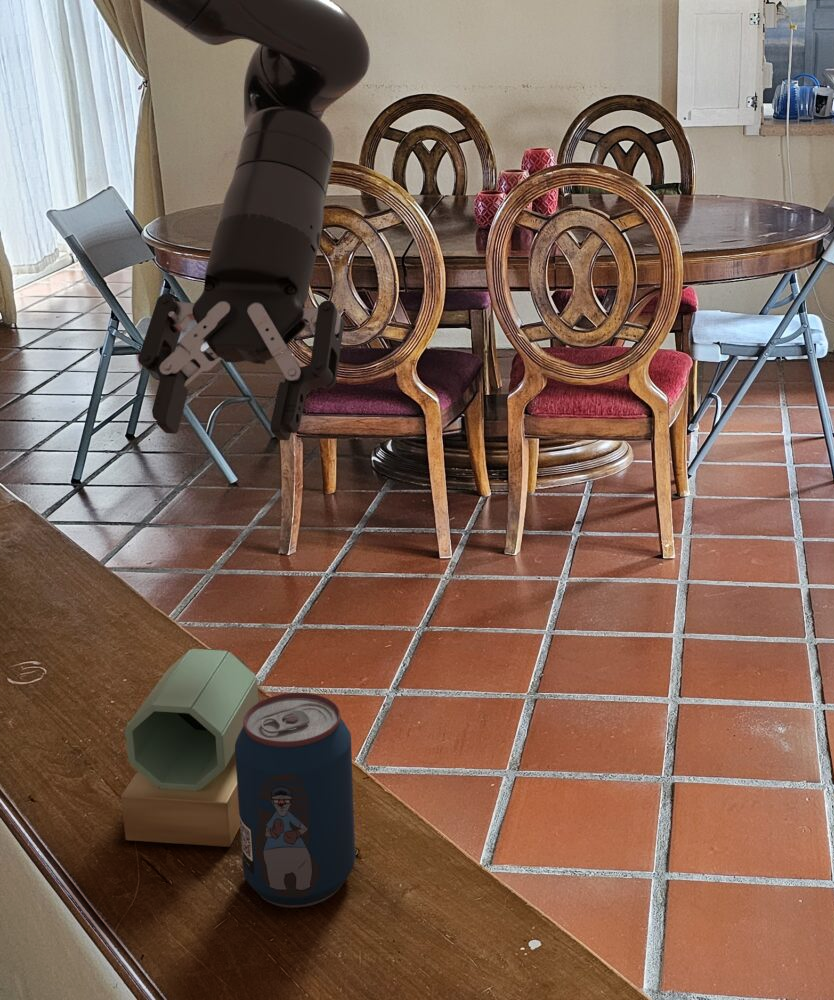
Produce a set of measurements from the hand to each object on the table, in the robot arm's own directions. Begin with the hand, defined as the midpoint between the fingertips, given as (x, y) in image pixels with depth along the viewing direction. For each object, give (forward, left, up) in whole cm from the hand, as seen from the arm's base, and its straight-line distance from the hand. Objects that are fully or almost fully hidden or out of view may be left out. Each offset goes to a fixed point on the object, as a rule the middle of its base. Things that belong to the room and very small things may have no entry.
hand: (222, 432), depth 92 cm
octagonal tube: (+9, -8, -20) cm, 23 cm away
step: (+9, -8, -23) cm, 26 cm away
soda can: (+21, -7, -23) cm, 32 cm away
